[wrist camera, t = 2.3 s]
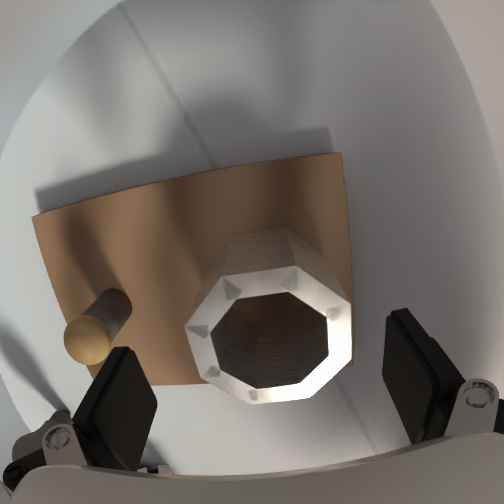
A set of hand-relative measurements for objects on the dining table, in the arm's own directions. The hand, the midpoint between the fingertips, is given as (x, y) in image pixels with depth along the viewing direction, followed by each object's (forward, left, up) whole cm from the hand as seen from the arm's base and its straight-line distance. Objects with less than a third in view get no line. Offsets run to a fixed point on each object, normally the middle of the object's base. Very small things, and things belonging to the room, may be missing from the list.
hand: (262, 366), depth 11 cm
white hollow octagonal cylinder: (0, +1, -8) cm, 8 cm away
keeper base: (+5, +1, -10) cm, 11 cm away
